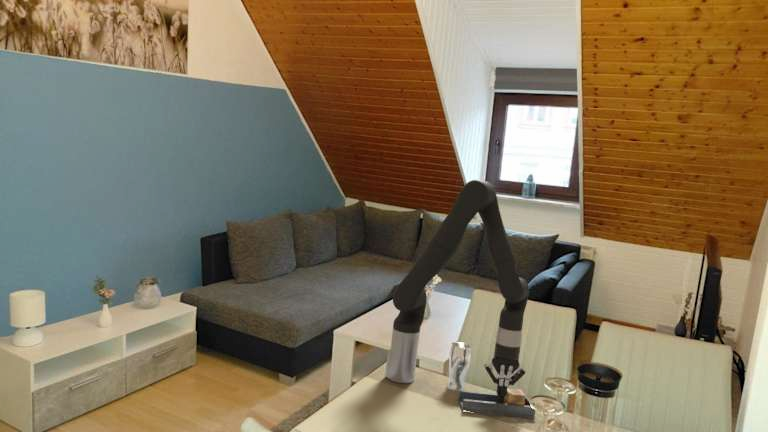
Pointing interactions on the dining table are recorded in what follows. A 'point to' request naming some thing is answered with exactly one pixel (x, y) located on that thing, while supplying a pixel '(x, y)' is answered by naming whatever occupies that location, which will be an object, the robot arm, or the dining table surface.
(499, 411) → the chute
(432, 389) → the dining table surface
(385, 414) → the dining table surface
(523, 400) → the oak block
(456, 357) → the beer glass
